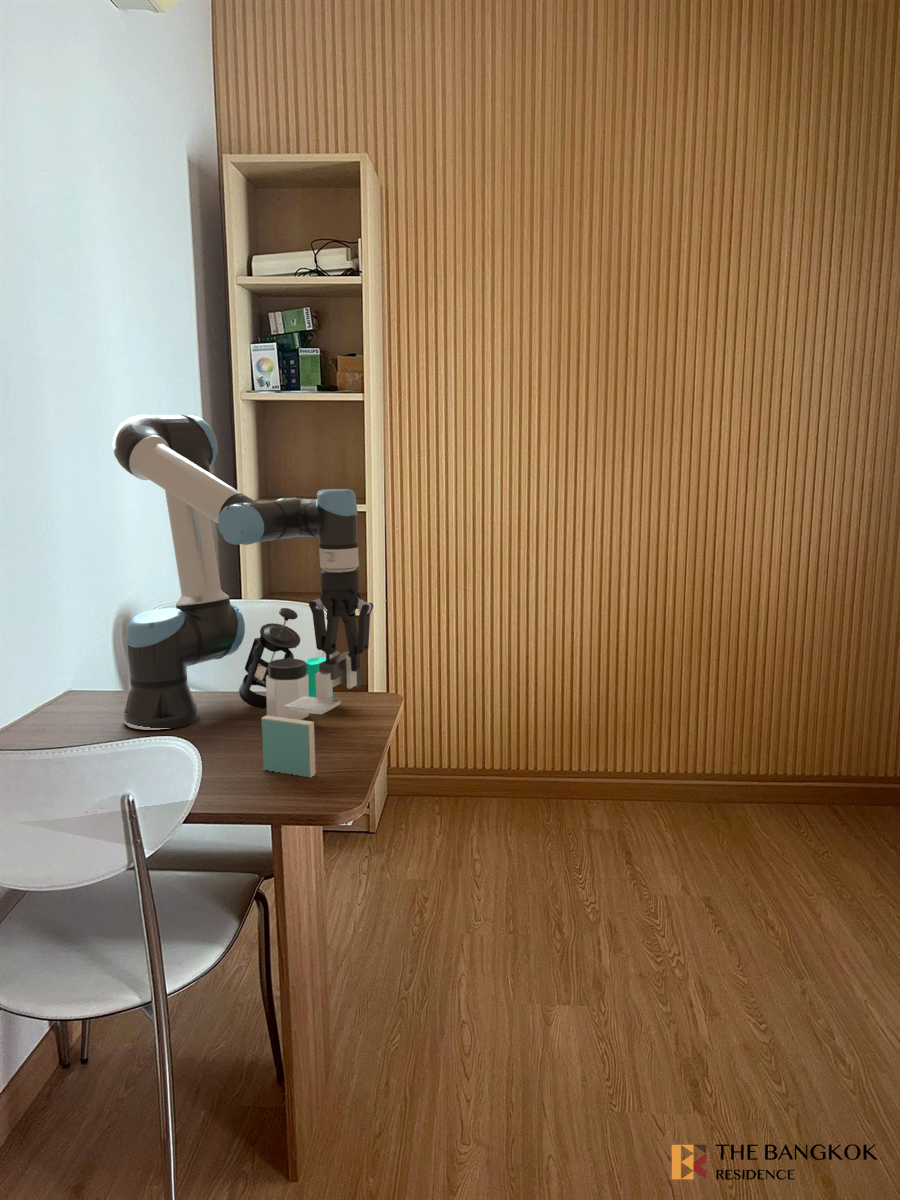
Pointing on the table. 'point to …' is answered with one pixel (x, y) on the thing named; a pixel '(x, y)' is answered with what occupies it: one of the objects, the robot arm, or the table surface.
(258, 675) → the french press
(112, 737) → the table surface
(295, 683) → the jar
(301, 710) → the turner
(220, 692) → the table surface
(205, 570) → the robot arm
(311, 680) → the candle
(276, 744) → the tile
